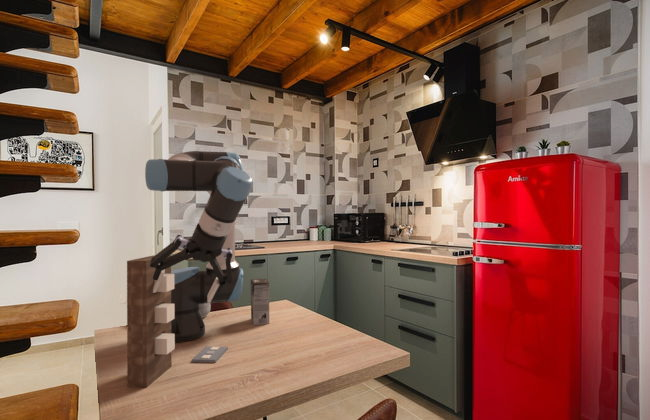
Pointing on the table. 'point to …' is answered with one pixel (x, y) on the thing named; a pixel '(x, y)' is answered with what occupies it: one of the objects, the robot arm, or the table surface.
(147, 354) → the switch panel
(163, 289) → the top key
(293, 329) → the table surface
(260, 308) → the coffee box
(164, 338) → the bottom key
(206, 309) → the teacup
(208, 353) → the pattern card
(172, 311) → the middle key
